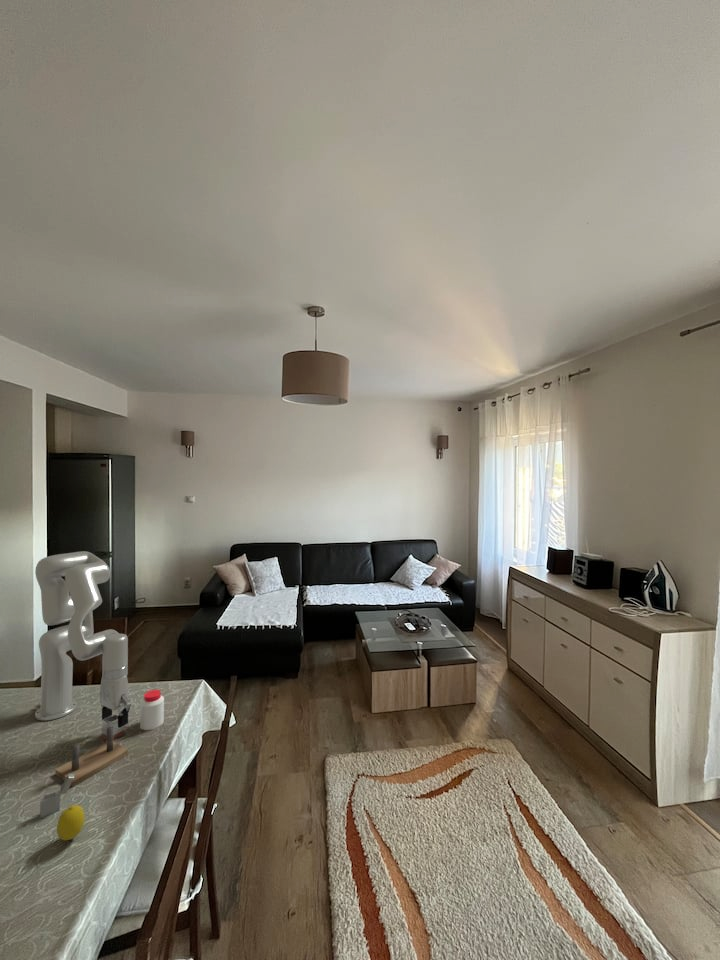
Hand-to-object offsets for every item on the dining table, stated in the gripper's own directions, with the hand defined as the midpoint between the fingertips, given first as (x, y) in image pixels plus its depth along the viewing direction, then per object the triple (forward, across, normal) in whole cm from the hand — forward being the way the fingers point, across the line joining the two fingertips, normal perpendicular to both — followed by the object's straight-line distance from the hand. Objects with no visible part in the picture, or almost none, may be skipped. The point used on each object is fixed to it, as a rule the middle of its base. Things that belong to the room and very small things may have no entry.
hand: (114, 721), depth 137 cm
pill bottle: (+5, +4, +11) cm, 13 cm away
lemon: (+6, +31, -28) cm, 42 cm away
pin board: (+5, +8, -11) cm, 15 cm away
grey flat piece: (+6, +18, -25) cm, 31 cm away
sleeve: (+5, -1, 0) cm, 5 cm away
